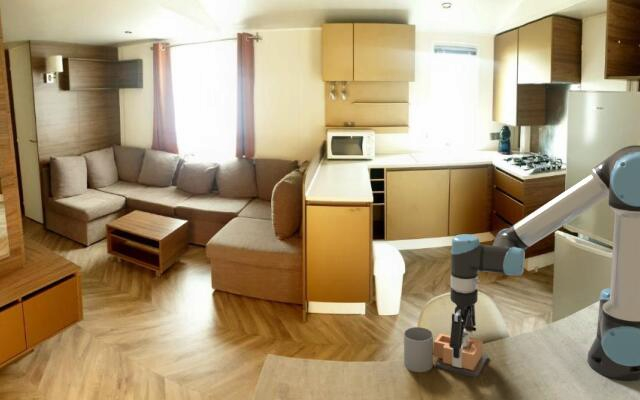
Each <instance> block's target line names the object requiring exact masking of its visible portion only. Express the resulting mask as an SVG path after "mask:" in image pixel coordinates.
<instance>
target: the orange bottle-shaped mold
mask: <svg viewBox="0 0 640 400" xmlns="http://www.w3.org/2000/svg"><path fill="white" fill-rule="evenodd" d="M450 337H451V335H449V334H444V333H439V334H438V335H437V337H436V338H435V339H434V340H433V358H438V359H440V358H441V359H443V363H447V364H451V365H452V348H450V346H449V344H450ZM483 343H484V341H483V339H479V338H475V337H473V338H471V337H469V350H468V349H464V348H463V351H462V368H466V369H470V370H474V368H475V367H476V365H477V363H478V362H479V360H480V358H481V357H482V354H483V345H484V344H483Z"/></svg>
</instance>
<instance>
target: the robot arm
mask: <svg viewBox="0 0 640 400" xmlns="http://www.w3.org/2000/svg"><path fill="white" fill-rule="evenodd" d="M607 199H608V207H609V208H610V209H611V210H612V211H613V212H614V220H613V221H614V223H613V225H614V226H613V239H612V240H613V241H612V242H613V243H612V259H611V270H610V271H611V272H610V273H611V274H610V275H611V276H610V287H607V288H603V289H602V290H601V292H600V296H599V298H598V299H599V307H598V317H597V327H596V336H595V339H594V341H593V342H592V344H591V346H590V348H589V350H588V352H587V359H586V360H587V363H588V366H589V367H590V368H591V369H593V370H594V371H596V372H597V373H599V374H601V375H603V376H605V377H608V378H611V379H615V380H619V381H636V380H640V145H637V144H635V145H634V144H632V145H628V146H624V147H621V148H620V149H618V150H616V151H615V152H614V153H612V154H610V156H608V157H607V158H605V160H603V161H602V162H600V163H598V164H597V165H595V166H594V167H593V168H592V169H591V173H590V175H587V176H586V177H585V178H583V179H581V180H580V181H579V182H577V183H576V184H574V185H572V186H571V187H569V188H568V189H566V190H565V191H563V192H562V193H560V194H559V195H557V196H556V197H554V198H553V199H551V200H550V201H547V203H545V204H544V205H542V206H541V207H539V208H537V209H536V210H535V211H532V212H531V213H530V214H528V215H527V216H525V217H524V218H522V219H521V220H519V221H518V222H516V223H515V224H513V225H512V226H510V227H509V228H503V229H501V230H500V231H499V232H498V233H497V234H496V235H495V237H494V240H493V243H492V245H489V244H488V245H487V244H481V243H480V239H479V237H478V236H476V235H472V234H470V233H469V234H468V233H466V234H465V233H463V234H457V235H455V236H453V238H452V239H451V250H450V286H449V287H450V300H451V302H452V303H453V304H454V305H456V306H455V308H454V313H451V328H450V336H451V337H450V344H449V346H450V348H452V366H455V367H459V368H462V351H463V347H462V346H461V345H462V339H463V333H464V332H465V333H467V334H469V337H471V338H474V332H476V331H477V327H476V324H477V323H476V309H475V308H476V307H475V306H476V304H477V302H478V297H479V296H478V295H479V293H478V292H479V291H478V287H479V283H480V282H481V280H480V279H479V278H478V277H479V272H482V273H483V272H484V273H491V274H492V273H493V274H498V275H499V274H500V275H505V276H521V275H523V273H524V269H525V259H526V257H525V254H526V251H525V250H527V249H528V248H530V247H531V246H533V245H534V244H536V243H537V242H539V241H540V240H543V239H544V238H546V237H547V236H549V235H551V234H552V233H553V232H555V231H557V230H559V229H560V228H562V227H563V226H565V225H566V224H569V223H570V222H572V221H573V220H574V219H576V218H578V217H579V216H581V215H582V214H584V213H586V212H588V211H589V210H591V209H592V208H594V207H595V206H597V205H599V204H601V203H602V202H604V201H606V200H607Z"/></svg>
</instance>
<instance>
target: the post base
mask: <svg viewBox="0 0 640 400" xmlns="http://www.w3.org/2000/svg"><path fill="white" fill-rule="evenodd" d="M461 346H462V347H463V348H464V349H468V350H469V334H467V333H465V332H464V333H463V339H462V345H461ZM488 360H489V354H486V353H482V357H481V358H480V360H479V362H478V363H477V365H476V367H475V368H474V370H470V369H466V368H459V367H455V366H452V365H451V364H447V363H443V359H441V358H438V360H437V362H436V363H435V368H437V369H442V370H444V371H450V372H453V373H456V374H460V375H463V376H467V377H469V378H470V377H472V378H474V379H477V377H478V376H479V374H480V372H482V369H483V368H484V366H485V364H486V362H487V361H488Z"/></svg>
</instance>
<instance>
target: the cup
mask: <svg viewBox="0 0 640 400" xmlns="http://www.w3.org/2000/svg"><path fill="white" fill-rule="evenodd" d="M433 361H434V333H433V332H432V330H430V329H428V328H426V327H421V326H416V327H415V326H413V327H409V328H407V329H406V330H404V332H403V363H404V364H403V366H404V367H405V368H406V369H407V370H409V371H411V372H415V373H425V372H428V371H430V370H431V369H432V368H433V365H434V362H433Z"/></svg>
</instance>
